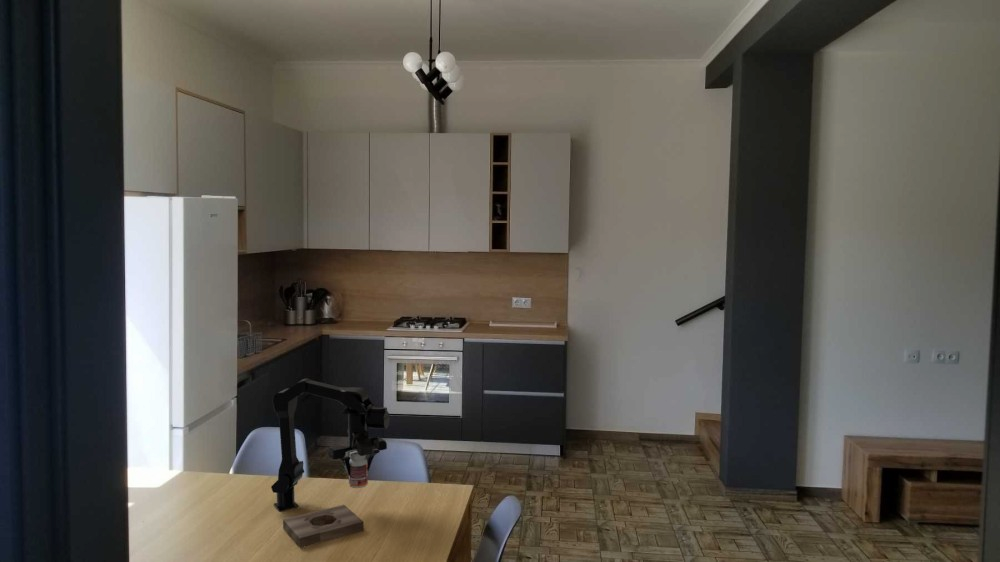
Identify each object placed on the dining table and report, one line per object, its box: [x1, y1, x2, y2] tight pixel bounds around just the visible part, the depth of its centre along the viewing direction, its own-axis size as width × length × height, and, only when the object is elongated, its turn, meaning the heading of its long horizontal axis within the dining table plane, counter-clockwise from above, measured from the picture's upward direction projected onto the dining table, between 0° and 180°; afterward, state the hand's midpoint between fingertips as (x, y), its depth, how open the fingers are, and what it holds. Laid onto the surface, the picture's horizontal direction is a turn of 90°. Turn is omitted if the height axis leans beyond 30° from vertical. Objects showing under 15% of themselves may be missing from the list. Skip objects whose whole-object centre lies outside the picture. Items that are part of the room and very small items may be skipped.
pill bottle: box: [348, 451, 369, 489], centre depth 227 cm, size 6×6×11 cm
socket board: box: [282, 504, 365, 549], centre depth 214 cm, size 16×20×3 cm
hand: (358, 473), depth 227 cm, fingers closed on pill bottle, 6 cm apart
